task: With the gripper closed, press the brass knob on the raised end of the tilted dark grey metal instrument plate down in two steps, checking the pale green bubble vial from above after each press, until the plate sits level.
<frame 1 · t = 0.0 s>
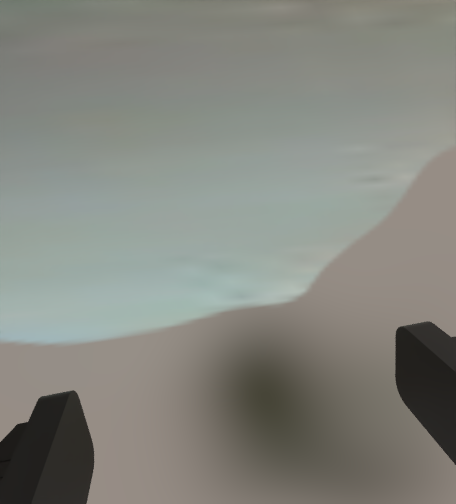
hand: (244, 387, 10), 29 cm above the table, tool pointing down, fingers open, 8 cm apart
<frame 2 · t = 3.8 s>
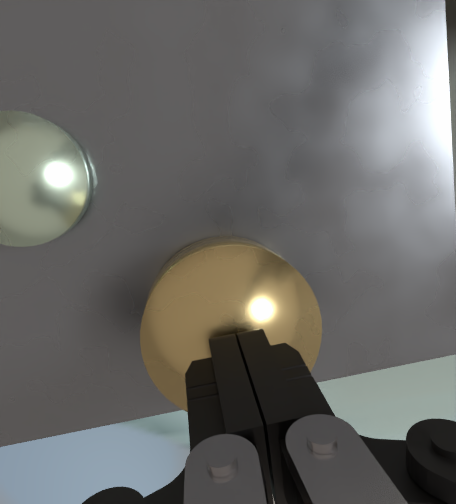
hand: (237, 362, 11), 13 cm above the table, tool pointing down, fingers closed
level plate: (182, 45, 11), point 9 cm above the table, hinge at -9.2°, touching gripper
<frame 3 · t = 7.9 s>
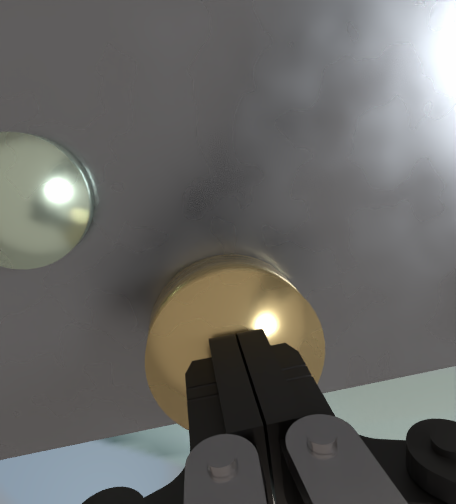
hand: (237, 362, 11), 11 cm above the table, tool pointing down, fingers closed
level plate: (187, 60, 11), point 9 cm above the table, hinge at -5.1°, touching gripper
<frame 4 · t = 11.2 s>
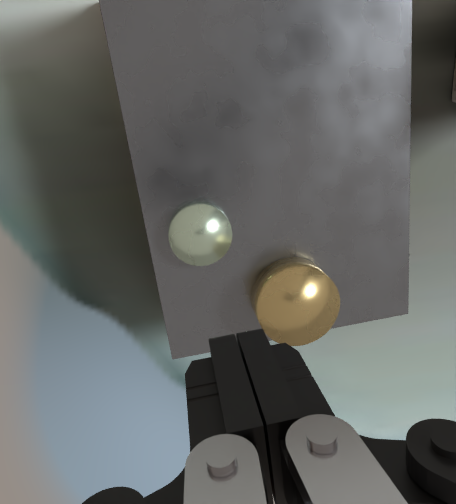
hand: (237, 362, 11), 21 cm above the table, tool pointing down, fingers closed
level plate: (279, 168, 23), point 8 cm above the table, hinge at -0.2°
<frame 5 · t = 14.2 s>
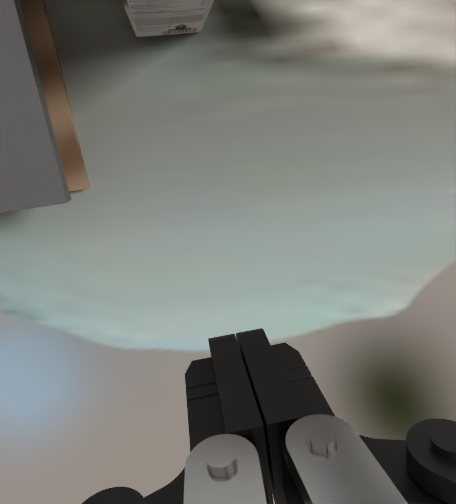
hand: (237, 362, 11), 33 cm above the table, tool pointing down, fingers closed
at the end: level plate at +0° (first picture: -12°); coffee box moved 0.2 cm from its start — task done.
